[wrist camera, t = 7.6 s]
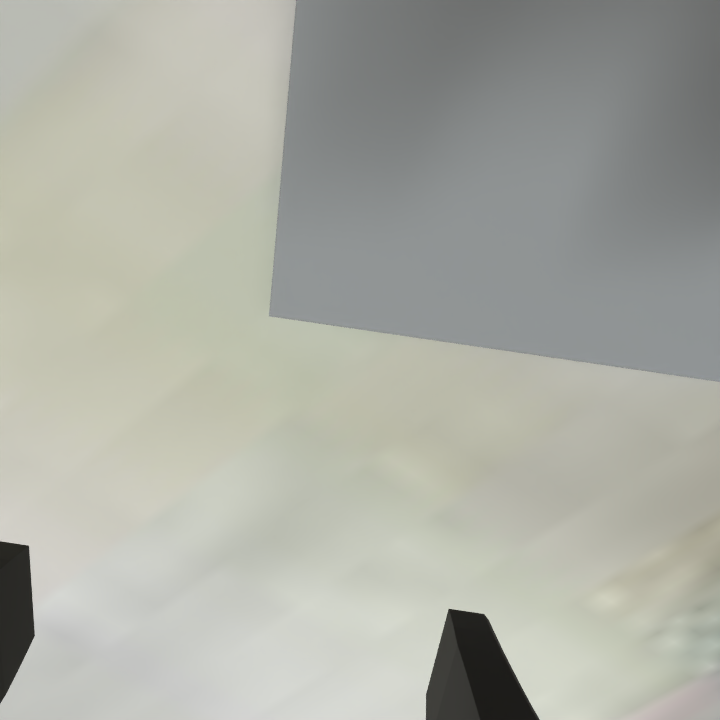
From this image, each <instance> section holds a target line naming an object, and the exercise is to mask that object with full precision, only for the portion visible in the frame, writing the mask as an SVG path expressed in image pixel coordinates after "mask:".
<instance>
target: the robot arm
mask: <svg viewBox="0 0 720 720" xmlns="http://www.w3.org/2000/svg"><path fill="white" fill-rule="evenodd" d="M34 636H35V634H34V619H33V603H32V587H31V572H30V556H29V546H27V545H20V544H14V543H7V542H0V703H1V701H2V700H3V698H4V697H5V695H6V693H7V691H8V689H9V687H10V685H11V683H12V681H13V679H14V677H15V675H16V673H17V671H18V669H19V667H20V665H21V663H22V661H23V659H24V657H25V655H26V653H27V651H28V649H29V647H30V644H31V642H32V640H33V638H34ZM426 720H539V718H538V716H537V714H536V713H535V711H534V709H533V707H532V706H531V704H530V702H529V700H528V698H527V696H526V695H525V693H524V691H523V689H522V687H521V685H520V683H519V681H518V679H517V677H516V675H515V674H514V672H513V670H512V668H511V666H510V664H509V662H508V660H507V658H506V656H505V654H504V652H503V650H502V648H501V646H500V643H499V641H498V639H497V637H496V635H495V633H494V631H493V629H492V626H491V624H490V622H489V620H488V619H487V617H486V616H485V615H484V614H479V613H473V612H466V611H459V610H453V609H449V610H448V614H447V618H446V622H445V625H444V629H443V633H442V637H441V640H440V644H439V648H438V652H437V656H436V659H435V663H434V667H433V671H432V674H431V678H430V682H429V686H428V690H427V693H426Z"/></svg>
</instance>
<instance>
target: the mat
mask: <svg viewBox="0 0 720 720" xmlns="http://www.w3.org/2000/svg"><path fill="white" fill-rule="evenodd" d="M269 316H271V317H278V318H285V319H292V320H299V321H306V322H313V323H319V324H326V325H333V326H340V327H347V328H354V329H361V330H368V331H374V332H381V333H388V334H395V335H402V336H409V337H416V338H422V339H429V340H436V341H443V342H450V343H457V344H464V345H470V346H477V347H484V348H491V349H498V350H505V351H512V352H518V353H525V354H532V355H539V356H546V357H553V358H560V359H566V360H573V361H580V362H587V363H594V364H601V365H608V366H615V367H621V368H628V369H635V370H642V371H649V372H656V373H663V374H669V375H676V376H683V377H690V378H697V379H704V380H711V381H717V382H720V0H296V10H295V22H294V33H293V45H292V56H291V68H290V80H289V91H288V103H287V114H286V126H285V138H284V149H283V161H282V172H281V184H280V196H279V207H278V219H277V230H276V242H275V254H274V265H273V277H272V288H271V300H270V311H269Z"/></svg>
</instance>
